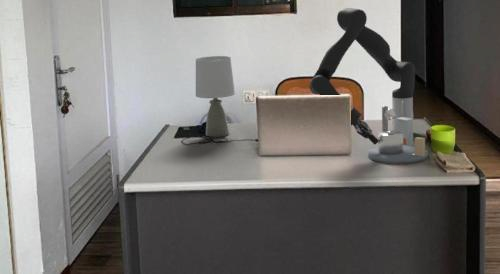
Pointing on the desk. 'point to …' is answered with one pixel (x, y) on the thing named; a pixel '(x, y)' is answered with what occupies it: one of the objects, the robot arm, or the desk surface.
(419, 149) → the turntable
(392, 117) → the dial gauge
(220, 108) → the lamp
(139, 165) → the desk surface
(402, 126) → the skincare box
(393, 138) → the cover
